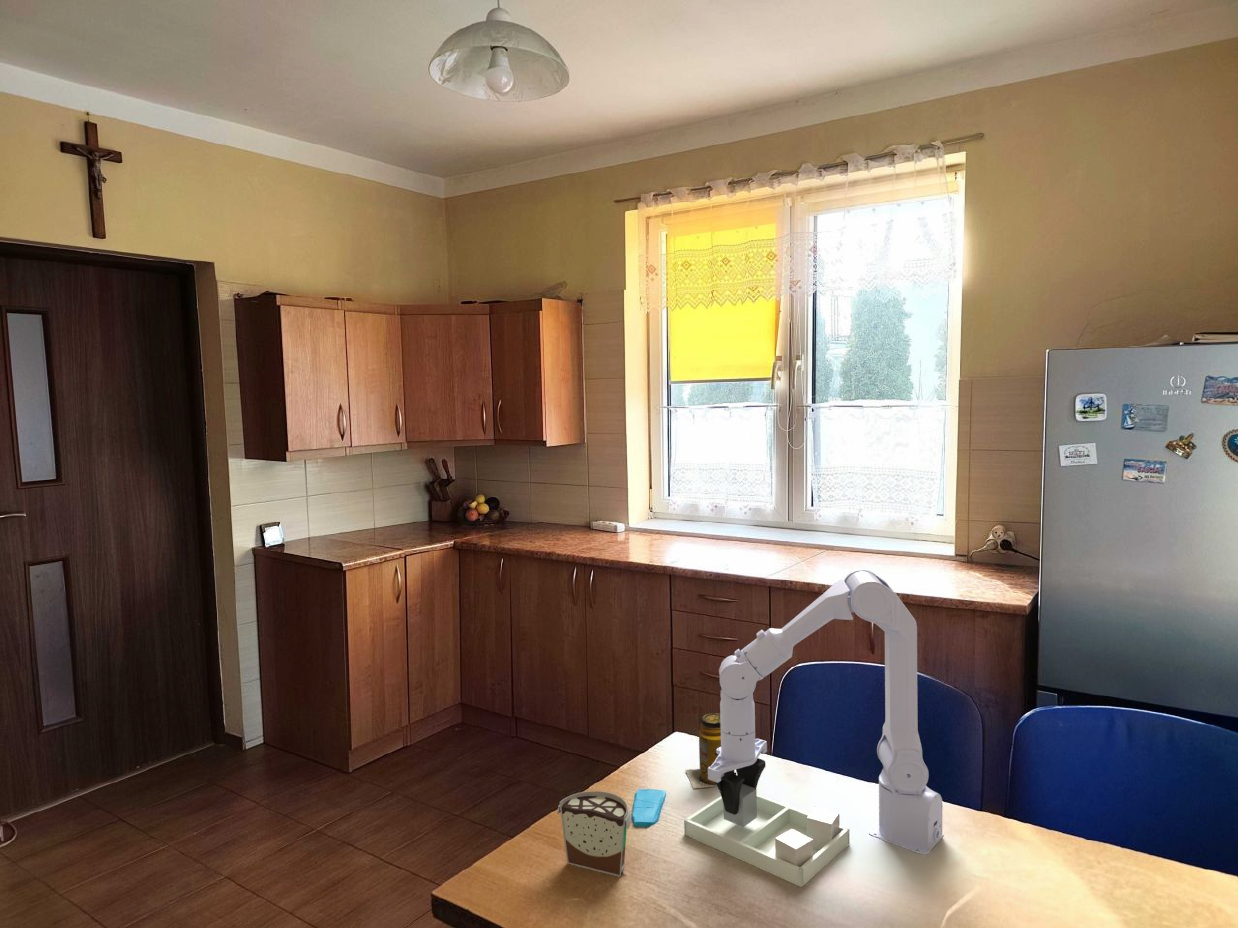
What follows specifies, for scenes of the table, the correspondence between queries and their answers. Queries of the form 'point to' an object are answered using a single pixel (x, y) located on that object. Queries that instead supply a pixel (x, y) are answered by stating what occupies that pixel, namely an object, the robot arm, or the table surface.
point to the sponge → (647, 806)
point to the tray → (762, 838)
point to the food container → (595, 830)
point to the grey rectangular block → (744, 807)
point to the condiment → (706, 750)
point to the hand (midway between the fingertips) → (739, 806)
